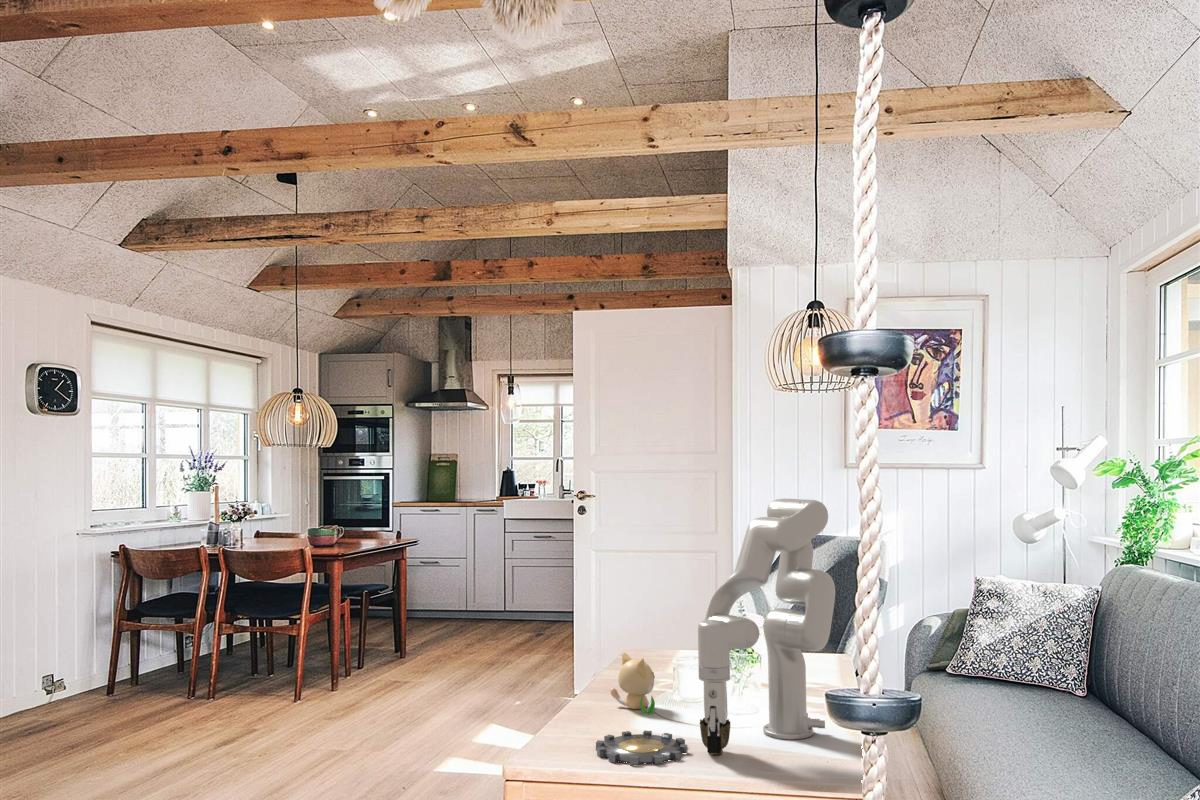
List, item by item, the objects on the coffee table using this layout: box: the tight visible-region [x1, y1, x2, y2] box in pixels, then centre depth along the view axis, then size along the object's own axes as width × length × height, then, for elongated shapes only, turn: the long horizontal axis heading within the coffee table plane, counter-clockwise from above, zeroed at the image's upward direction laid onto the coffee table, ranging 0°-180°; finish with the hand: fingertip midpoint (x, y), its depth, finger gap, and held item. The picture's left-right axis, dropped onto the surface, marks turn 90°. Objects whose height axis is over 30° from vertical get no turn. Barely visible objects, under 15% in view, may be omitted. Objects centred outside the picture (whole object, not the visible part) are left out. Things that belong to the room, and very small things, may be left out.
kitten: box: [609, 652, 656, 715], centre depth 278 cm, size 15×10×15 cm, turn 32°
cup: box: [699, 717, 731, 757], centre depth 234 cm, size 8×7×8 cm
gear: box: [595, 730, 688, 766], centre depth 238 cm, size 22×22×2 cm
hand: (715, 747), depth 234 cm, fingers closed on cup, 6 cm apart
